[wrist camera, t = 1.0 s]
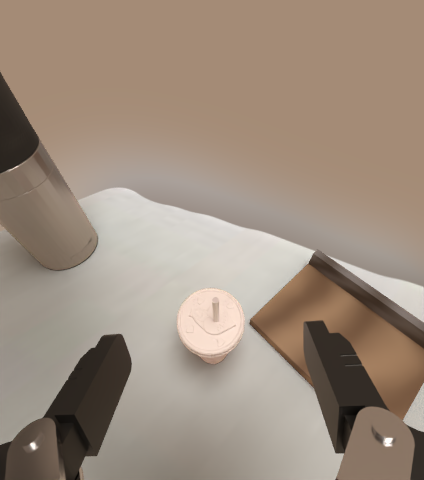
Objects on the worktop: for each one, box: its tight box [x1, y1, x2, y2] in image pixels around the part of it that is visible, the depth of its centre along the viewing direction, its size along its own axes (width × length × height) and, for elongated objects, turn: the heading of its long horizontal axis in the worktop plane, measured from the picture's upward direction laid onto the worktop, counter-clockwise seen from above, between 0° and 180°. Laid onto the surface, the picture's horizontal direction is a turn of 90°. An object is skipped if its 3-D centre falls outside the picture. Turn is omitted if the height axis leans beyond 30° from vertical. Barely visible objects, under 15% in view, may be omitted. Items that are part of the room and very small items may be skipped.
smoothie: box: [177, 288, 244, 364], centre depth 26 cm, size 6×6×14 cm
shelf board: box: [250, 250, 424, 420], centre depth 30 cm, size 17×13×4 cm
